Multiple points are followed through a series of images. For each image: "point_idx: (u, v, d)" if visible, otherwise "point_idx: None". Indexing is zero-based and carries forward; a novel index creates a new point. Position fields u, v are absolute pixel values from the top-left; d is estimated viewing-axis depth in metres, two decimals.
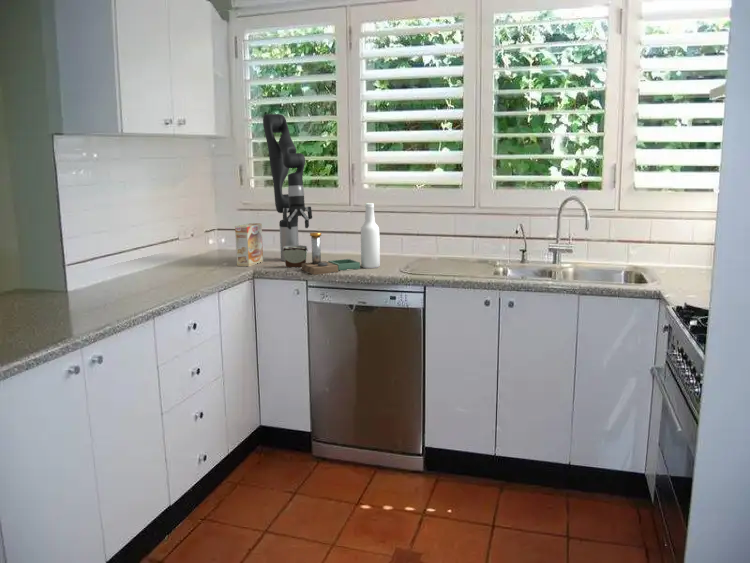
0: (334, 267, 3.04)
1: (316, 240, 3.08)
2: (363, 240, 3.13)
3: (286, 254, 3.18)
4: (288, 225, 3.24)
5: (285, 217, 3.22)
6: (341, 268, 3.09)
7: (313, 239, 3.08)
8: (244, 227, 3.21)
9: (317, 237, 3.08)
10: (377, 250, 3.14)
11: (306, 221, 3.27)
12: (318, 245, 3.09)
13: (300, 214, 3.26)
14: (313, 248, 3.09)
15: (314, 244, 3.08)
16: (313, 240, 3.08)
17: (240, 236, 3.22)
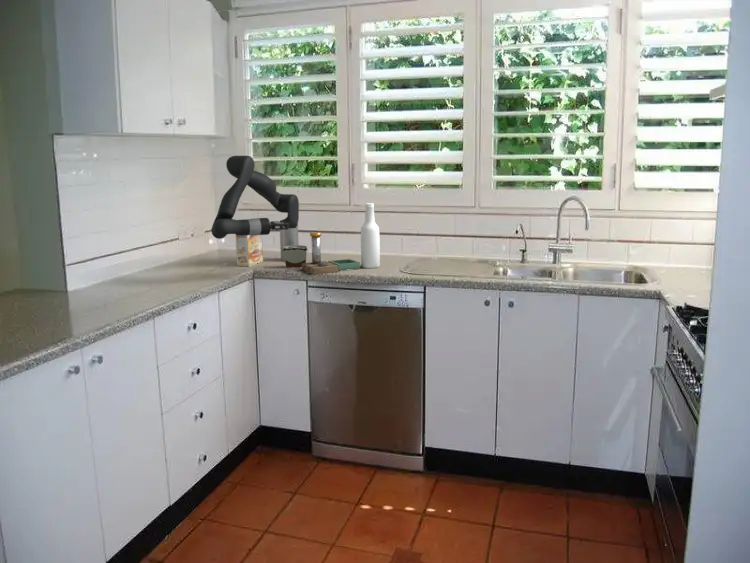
0: (334, 267, 3.04)
1: (316, 240, 3.08)
2: (363, 240, 3.13)
3: (286, 254, 3.18)
4: (284, 225, 3.07)
5: None
6: (341, 268, 3.09)
7: (313, 239, 3.08)
8: None
9: (317, 237, 3.08)
10: (377, 250, 3.14)
11: (288, 228, 2.99)
12: (318, 245, 3.09)
13: None
14: (313, 248, 3.09)
15: (314, 244, 3.08)
16: (313, 240, 3.08)
17: (240, 236, 3.22)
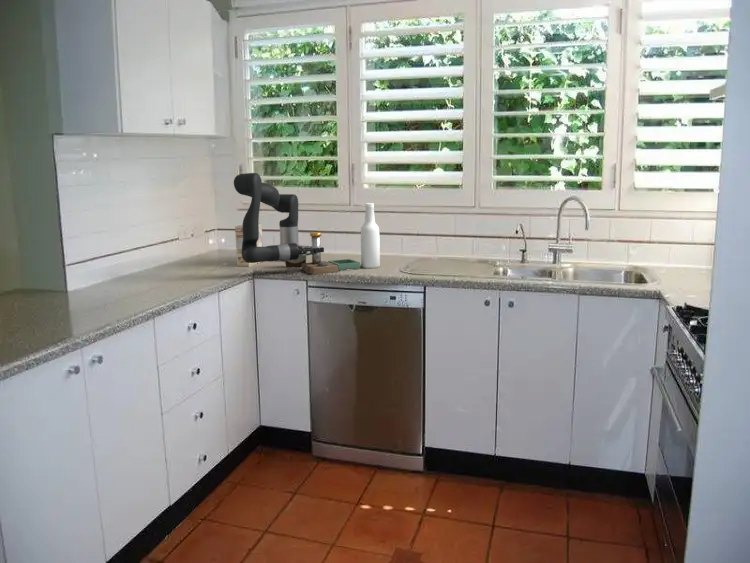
0: (334, 267, 3.04)
1: (316, 240, 3.08)
2: (363, 240, 3.13)
3: None
4: None
5: None
6: (341, 268, 3.09)
7: (313, 239, 3.08)
8: None
9: (317, 237, 3.08)
10: (377, 250, 3.14)
11: (317, 252, 3.09)
12: (318, 245, 3.09)
13: None
14: None
15: (314, 244, 3.09)
16: (313, 240, 3.08)
17: (240, 236, 3.22)
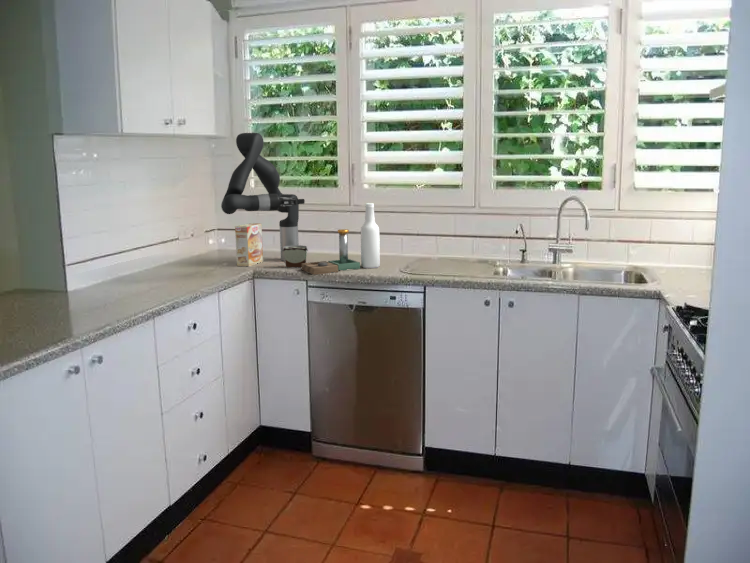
0: (334, 267, 3.04)
1: (344, 237, 3.12)
2: (363, 240, 3.13)
3: (286, 254, 3.18)
4: None
5: None
6: (341, 268, 3.09)
7: (341, 236, 3.12)
8: (244, 227, 3.21)
9: (345, 234, 3.12)
10: (377, 250, 3.14)
11: (297, 204, 3.03)
12: (346, 242, 3.13)
13: None
14: (341, 245, 3.13)
15: (341, 241, 3.12)
16: (341, 237, 3.12)
17: (240, 236, 3.22)
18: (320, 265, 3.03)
